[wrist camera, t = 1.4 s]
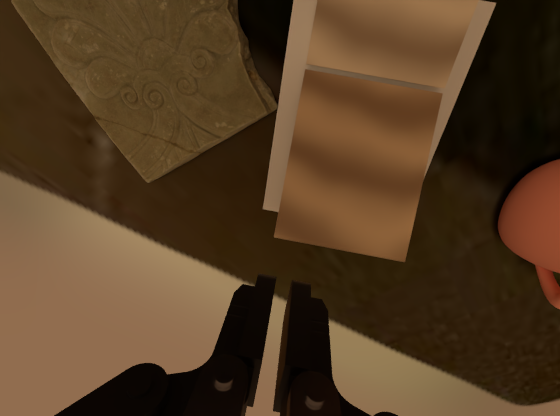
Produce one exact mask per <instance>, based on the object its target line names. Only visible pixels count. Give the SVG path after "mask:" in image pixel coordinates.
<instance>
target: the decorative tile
mask: <svg viewBox="0 0 560 416" xmlns="http://www.w3.org/2000/svg"><path fill="white" fill-rule="evenodd" d="M11 2H12V4H13V5H14V7H15V8H16V10H17V11H18V13H19V14H20V16H21V17H22V18H23V20H24V21H25V23H26V24H27V26H28V27H29V29H30V30H31V31H32V33H33V34H34V35H35V37H36V38H37V39H38V41H39V42H40V44H41V45H42V46H43V48H44V49H45V51H46V52H47V53H48V55H49V56H50V58H51V59H52V61H53V62H54V64H55V65H56V66H57V68H58V69H59V71H60V72H61V73H62V75H63V76H64V77H65V79H66V80H67V81H68V83H69V84H70V86H71V87H72V88H73V90H74V91H75V92H76V93H77V95H78V96H79V97H80V99H81V100H82V101H83V103H84V104H85V105H86V107H87V108H88V109H89V110H90V112H91V113H92V114H93V116H94V117H95V119H96V121H97V122H98V123H99V125H100V126H101V127H102V128H103V130H104V131H105V132H106V133H107V134H108V136H109V137H110V138H111V140H112V141H113V142H114V143H115V145H116V146H117V147H118V148H119V150H120V151H121V152H122V154H123V155H124V156H125V157H126V159H127V160H128V161H129V162H130V163H131V164H132V166H133V167H134V168H135V169H136V170H137V172H138V173H139V174H140V175H141V177H142V178H143V179H144V180H145V181H146V182H147V183H150V182H152V181H154V180H156V179H158V178H160V177H162V176H163V175H165V174H167V173H169V172H171V171H172V170H174V169H176V168H177V167H179V166H181V165H183V164H185V163H187V162H189V161H190V160H192V159H193V158H195V157H197V156H198V155H200V154H202V153H203V152H204V151H206V150H208V149H210V148H212V147H213V146H215V145H217V144H219V143H220V142H222V141H224V140H226V139H228V138H230V137H231V136H233V135H235V134H236V133H238V132H240V131H241V130H243V129H245V128H246V127H248V126H250V125H252V124H253V123H255V122H257V121H258V120H260V119H262V118H263V117H265V116H267V115H268V114H270V113H272V112H273V111H275V110H276V109H278V105H277V103H276V101H275V98H274V95H273V93H272V91H271V89H270V88H269V87H268V86H267V84H266V83H265V82H264V80H263V79H262V78H261V77H260V76H259V75H258V73H257V70H256V68H255V66H254V62H253V60H252V57H251V53H250V51H249V45H248V42H249V41H248V39H247V37H246V36H245V35H244V32H243V30H242V28H241V26H240V23H239V18H238V1H237V0H11Z"/></svg>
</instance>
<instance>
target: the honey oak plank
mask: <svg viewBox="0 0 560 416" xmlns="http://www.w3.org/2000/svg"><path fill="white" fill-rule="evenodd" d="M442 95H443V93H437V92H432V91H426V90H420V89H415V88H409V87H403V86H398V85H392V84H386V83H381V82H375V81H369V80H364V79H358V78H353V77H347V76H341V75H336V74H330V73H324V72H319V71H313V70H307V69H305V73H304V78H303V83H302V89H301V94H300V100H299V105H298V110H297V116H296V121H295V126H294V132H293V137H292V143H291V148H290V153H289V159H288V164H287V170H286V175H285V180H284V186H283V191H282V196H281V202H280V207H279V213H278V218H277V223H276V229H275V234H274V237H275V238H280V239H286V240H291V241H296V242H301V243H307V244H312V245H317V246H322V247H328V248H333V249H338V250H344V251H349V252H354V253H359V254H365V255H370V256H375V257H380V258H386V259H391V260H396V261H401V262H405V259H406V255H407V250H408V246H409V241H410V237H411V233H412V228H413V224H414V219H415V215H416V210H417V206H418V202H419V197H420V193H421V188H422V184H423V179H424V175H425V170H426V166H427V162H428V157H429V153H430V148H431V144H432V139H433V135H434V131H435V126H436V122H437V117H438V113H439V108H440V104H441V99H442Z"/></svg>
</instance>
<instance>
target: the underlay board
mask: <svg viewBox="0 0 560 416" xmlns="http://www.w3.org/2000/svg"><path fill="white" fill-rule="evenodd" d="M316 5H317V0H294V1H293V8H292V15H291V21H290V28H289V35H288V42H287V49H286V56H285V62H284V69H283V76H282V83H281V90H280V96H279V103H278V110H277V117H276V124H275V130H274V137H273V144H272V151H271V158H270V164H269V171H268V178H267V185H266V192H265V198H264V205H263V209H265V210H271V211H276V212H279V207H280V202H281V196H282V191H283V186H284V180H285V175H286V170H287V164H288V159H289V153H290V148H291V143H292V137H293V132H294V126H295V121H296V116H297V110H298V105H299V100H300V94H301V89H302V83H303V78H304V73H305V69H307V70H313V71H319V72H324V73H330V74H336V75H341V76H347V77H353V78H358V79H364V80H369V81H375V82H381V83H386V84H392V85H398V86H403V87H409V88H415V89H420V90H426V91H432V92H437V93H443V95H442V99H441V104H440V108H439V113H438V117H437V122H436V126H435V131H434V135H433V139H432V144H431V148H430V153H429V157H428V162H427V166H426V170H425V174H426V172H427V170H428V167H429V165H430V162H431V160H432V157H433V155H434V153H435V150H436V148H437V145H438V143H439V140H440V138H441V136H442V133H443V131H444V128H445V126H446V124H447V121H448V119H449V116H450V114H451V111H452V109H453V107H454V104H455V102H456V99H457V97H458V94H459V92H460V90H461V87H462V85H463V82H464V80H465V77H466V75H467V73H468V70H469V68H470V65H471V63H472V60H473V58H474V56H475V53H476V51H477V48H478V46H479V43H480V41H481V39H482V36H483V34H484V31H485V29H486V26H487V24H488V22H489V19H490V17H491V14H492V12H493V9H494V7H495V5H496V3H493V2H487V1H481V0H479V1H478V3H477V6H476V9H475V11H474V14H473V16H472V19H471V22H470V24H469V27H468V29H467V32H466V34H465V37H464V40H463V42H462V45H461V47H460V50H459V52H458V55H457V58H456V60H455V63H454V65H453V68H452V71H451V73H450V76H449V78H448V81H447V83H446V86H445V88H438V87H432V86H427V85H421V84H415V83H410V82H404V81H398V80H393V79H387V78H381V77H376V76H370V75H364V74H359V73H353V72H347V71H342V70H336V69H330V68H325V67H319V66H313V65H308V64H306V62H307V56H308V50H309V45H310V39H311V34H312V28H313V22H314V17H315V11H316ZM424 177H425V175H424Z"/></svg>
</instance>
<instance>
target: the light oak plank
mask: <svg viewBox="0 0 560 416" xmlns="http://www.w3.org/2000/svg"><path fill="white" fill-rule="evenodd" d="M478 1H479V0H317V5H316V11H315V17H314V22H313V28H312V34H311V39H310V45H309V50H308V56H307V62H306V64H308V65H313V66H319V67H325V68H330V69H336V70H342V71H347V72H353V73H359V74H364V75H370V76H376V77H381V78H387V79H393V80H398V81H404V82H410V83H415V84H421V85H427V86H432V87H438V88H445V86H446V83H447V81H448V78H449V76H450V73H451V71H452V68H453V65H454V63H455V60H456V58H457V55H458V52H459V50H460V47H461V45H462V42H463V40H464V37H465V34H466V32H467V29H468V27H469V24H470V22H471V19H472V16H473V14H474V11H475V9H476V6H477V3H478Z"/></svg>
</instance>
